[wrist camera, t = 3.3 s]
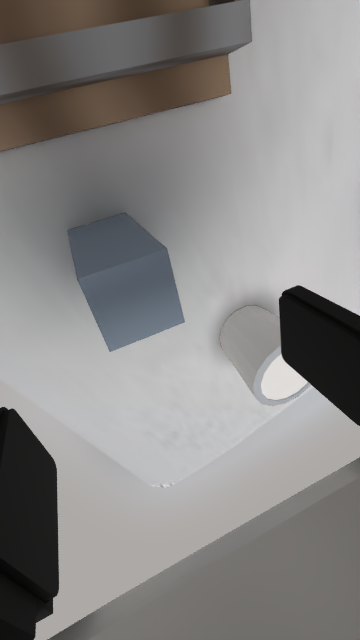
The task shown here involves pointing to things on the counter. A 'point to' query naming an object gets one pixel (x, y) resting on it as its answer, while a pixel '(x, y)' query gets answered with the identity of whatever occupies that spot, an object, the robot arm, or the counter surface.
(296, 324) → the robot arm
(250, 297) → the counter surface
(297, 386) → the white cup
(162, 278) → the blue-grey block
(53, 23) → the rail
